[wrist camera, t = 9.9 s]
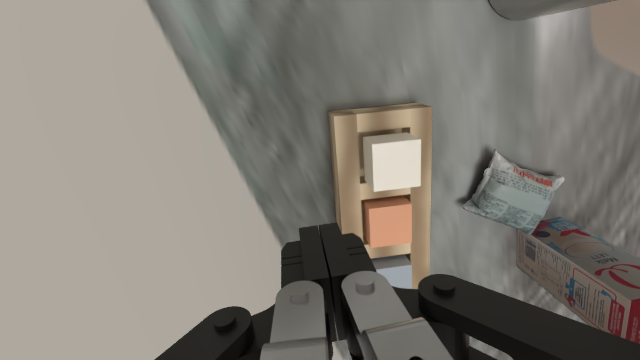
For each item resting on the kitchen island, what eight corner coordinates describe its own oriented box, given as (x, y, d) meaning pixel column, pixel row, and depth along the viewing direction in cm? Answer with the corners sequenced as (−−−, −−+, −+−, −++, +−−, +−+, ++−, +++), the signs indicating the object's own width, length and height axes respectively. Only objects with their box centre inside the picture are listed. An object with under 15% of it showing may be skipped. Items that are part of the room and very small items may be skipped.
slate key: (400, 248, 45) (411, 264, 42) (401, 280, 47) (411, 299, 43) (363, 253, 45) (371, 270, 41) (365, 285, 47) (373, 304, 43)
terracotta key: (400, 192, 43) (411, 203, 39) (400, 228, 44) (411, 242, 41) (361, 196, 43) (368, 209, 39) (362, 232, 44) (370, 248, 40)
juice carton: (517, 226, 49) (690, 339, 29) (560, 217, 50) (763, 323, 29) (516, 265, 51) (677, 398, 31) (558, 256, 52) (745, 381, 31)
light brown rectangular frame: (416, 102, 42) (432, 106, 38) (415, 282, 50) (428, 303, 46) (327, 111, 41) (333, 116, 37) (341, 293, 49) (347, 315, 45)
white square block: (407, 132, 38) (421, 139, 34) (407, 175, 40) (420, 186, 36) (362, 136, 38) (372, 144, 34) (364, 180, 39) (373, 191, 35)
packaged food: (483, 144, 45) (507, 154, 40) (554, 173, 48) (583, 185, 43) (453, 202, 47) (471, 217, 43) (521, 227, 50) (546, 244, 45)
